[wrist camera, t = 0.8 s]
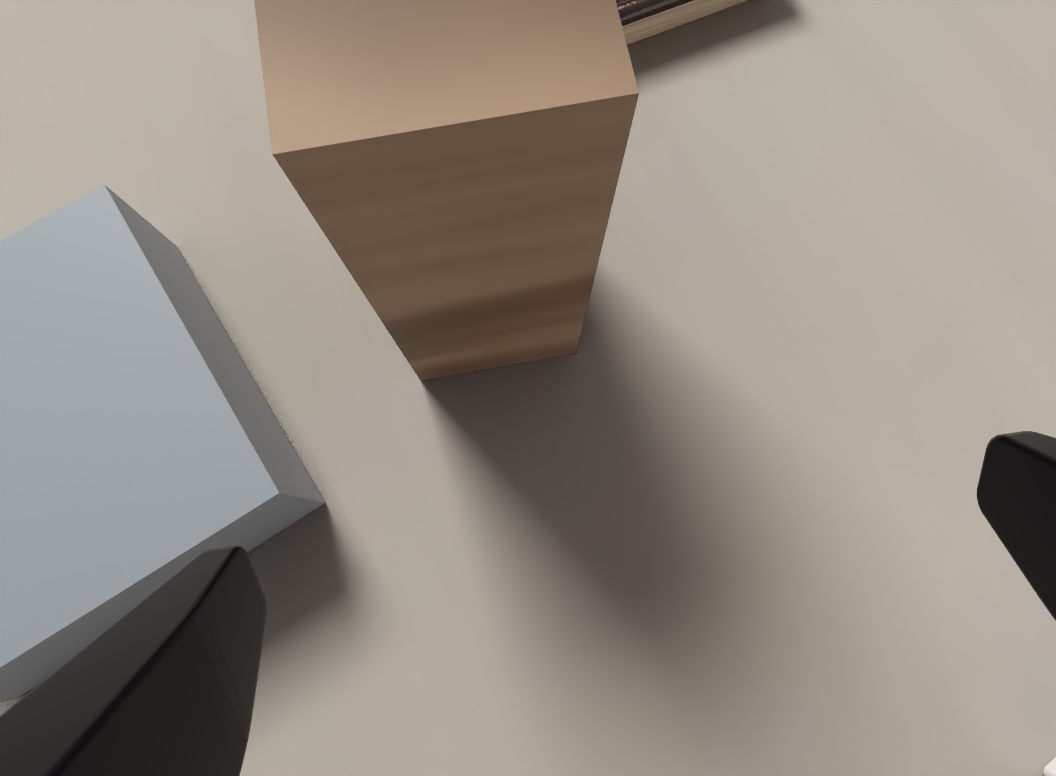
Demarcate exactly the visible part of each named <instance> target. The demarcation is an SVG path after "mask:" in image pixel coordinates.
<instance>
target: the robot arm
mask: <svg viewBox="0 0 1056 776" xmlns="http://www.w3.org/2000/svg"><path fill="white" fill-rule="evenodd" d="M977 500H978V504H979V507H980V509H981V511H982V513H983V515H984V516H985V518H986V519H987V521H988V522H989V524H990V525H991V527H992V528H993V529H994V531H995V532H996V534H997V535H998V537H999V538H1000V540H1001V541H1002V543H1003V544H1004V546H1005V547H1006V549H1007V550H1008V552H1009V553H1010V555H1011V556H1012V558H1013V559H1014V561H1015V562H1016V564H1017V565H1018V567H1019V568H1020V570H1021V571H1022V573H1023V574H1024V576H1025V577H1026V579H1027V580H1028V582H1029V583H1030V584H1031V586H1032V587H1033V589H1034V590H1035V592H1036V593H1037V595H1038V596H1039V598H1040V599H1041V601H1042V602H1043V604H1044V605H1045V606H1046V608H1047V609H1048V611H1049V612H1050V613H1051V615H1052V616H1053V618H1054V619H1055V620H1056V438H1054V437H1050V436H1047V435H1043V434H1040V433H1036V432H1032V431H1022V432H1015V433H1008V434H1002V435H997V436H995V437H993V438H992V439H991V440H990V442H989V443H988V445H987V448H986V452H985V456H984V461H983V465H982V470H981V474H980V478H979V483H978V487H977ZM266 613H267V609H266V600H265V596H264V593H263V591H262V588H261V585H260V583H259V580H258V577H257V575H256V572H255V569H254V567H253V564H252V561H251V559H250V556H249V554H248V552H247V551H246V549H245V548H244V547H242V546H240V545H233V546H226V547H219V548H212V549H208V550H205V551H204V552H202V553H201V554H200V555H199V556H197V557H196V558H195V559H194V560H192V561H191V562H190V563H189V564H187V565H186V566H185V567H184V568H182V569H181V570H180V571H179V572H178V573H176V574H175V575H174V576H173V577H171V578H170V579H169V580H168V581H166V582H165V583H164V584H163V585H162V586H160V587H159V588H158V589H157V590H155V591H154V592H153V593H152V594H150V595H149V596H148V597H147V598H146V599H144V600H143V601H142V602H141V603H139V604H138V605H137V606H136V607H134V608H133V609H132V610H131V611H129V612H128V613H127V614H126V615H125V616H123V617H122V618H121V619H120V620H118V621H117V622H116V623H115V624H113V625H112V626H111V627H110V628H108V629H107V630H106V631H105V632H104V633H102V634H101V635H100V636H99V637H97V638H96V639H95V640H94V641H92V642H91V643H90V644H89V645H87V646H86V647H85V648H84V649H83V650H81V651H80V652H79V653H78V654H76V655H75V656H74V657H73V658H71V659H70V660H69V661H68V662H67V663H65V664H64V665H63V666H62V667H60V668H59V669H58V670H57V671H55V672H54V673H53V674H52V675H50V676H49V677H48V678H47V679H46V680H44V681H43V682H42V683H41V684H39V685H38V686H37V687H36V688H34V689H33V690H32V691H31V692H29V693H28V694H27V695H26V696H25V697H23V698H22V699H21V700H20V701H18V702H17V703H16V704H15V705H13V706H12V707H11V708H10V709H8V710H7V711H6V712H5V713H4V714H2V715H1V716H0V776H239V775H240V771H241V768H242V764H243V760H244V755H245V751H246V747H247V742H248V737H249V731H250V726H251V720H252V713H253V706H254V699H255V692H256V685H257V678H258V671H259V664H260V657H261V651H262V644H263V637H264V630H265V623H266Z"/></svg>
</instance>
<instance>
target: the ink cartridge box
mask: <svg viewBox="0 0 1056 776" xmlns="http://www.w3.org/2000/svg"><path fill="white" fill-rule="evenodd" d="M1043 774H1044V776H1056V757H1055V758H1054V759H1053V760H1052V761H1051V762H1050V763H1049V764H1048V765H1047V766H1045V768H1044V771H1043Z"/></svg>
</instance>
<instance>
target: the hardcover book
mask: <svg viewBox="0 0 1056 776" xmlns="http://www.w3.org/2000/svg"><path fill="white" fill-rule="evenodd" d="M745 1H748V0H616V4H617V8H618V12H619V16H620V20H621V24H622V28H623V32H624V36H625V40H626V44H627V45H628V44H631V43H634V42H636V41H639V40H642V39H645V38H647V37H650V36H653V35H655V34H658V33H661V32H664V31H666V30H669V29H672V28H675V27H677V26H680V25H683V24H685V23H688V22H691V21H694V20H696V19H699V18H702V17H704V16H707V15H710V14H713V13H715V12H718V11H721V10H723V9H726V8H729V7H732V6H734V5H737V4H740V3H742V2H745Z"/></svg>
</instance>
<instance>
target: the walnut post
mask: <svg viewBox="0 0 1056 776" xmlns="http://www.w3.org/2000/svg"><path fill="white" fill-rule="evenodd" d="M255 9H256V18H257V26H258V35H259V43H260V52H261V60H262V69H263V77H264V86H265V95H266V103H267V112H268V120H269V129H270V137H271V146H272V154H273V156H274V157H275V159H276V160H277V162H278V164H279V165H280V167H281V168H282V170H283V171H284V173H285V174H286V176H287V177H288V179H289V180H290V182H291V183H292V185H293V186H294V188H295V189H296V191H297V193H298V194H299V196H300V197H301V199H302V200H303V202H304V203H305V205H306V206H307V208H308V209H309V211H310V212H311V214H312V215H313V217H314V218H315V220H316V222H317V223H318V225H319V226H320V228H321V229H322V231H323V232H324V234H325V235H326V237H327V238H328V240H329V241H330V243H331V244H332V246H333V248H334V249H335V251H336V252H337V254H338V255H339V257H340V258H341V260H342V261H343V263H344V264H345V266H346V267H347V269H348V270H349V272H350V273H351V275H352V277H353V278H354V280H355V281H356V283H357V284H358V286H359V287H360V289H361V290H362V292H363V293H364V295H365V296H366V298H367V299H368V301H369V302H370V304H371V306H372V307H373V309H374V310H375V312H376V313H377V315H378V316H379V318H380V319H381V321H382V322H383V324H384V325H385V327H386V328H387V330H388V332H389V333H390V335H391V336H392V338H393V339H394V341H395V342H396V344H397V345H398V347H399V348H400V350H401V351H402V353H403V354H404V356H405V357H406V359H407V361H408V362H409V364H410V365H411V367H412V368H413V370H414V371H415V373H416V374H417V376H418V377H419V379H420V380H421V381H424V380H430V379H435V378H441V377H447V376H452V375H458V374H463V373H469V372H474V371H480V370H485V369H491V368H496V367H502V366H507V365H513V364H518V363H524V362H529V361H535V360H540V359H546V358H551V357H557V356H562V355H568V354H573V353H576V352H577V347H578V343H579V339H580V335H581V331H582V327H583V323H584V318H585V314H586V310H587V306H588V302H589V298H590V294H591V290H592V285H593V281H594V277H595V273H596V269H597V265H598V261H599V256H600V252H601V248H602V244H603V240H604V236H605V232H606V228H607V223H608V219H609V215H610V211H611V207H612V203H613V199H614V194H615V190H616V186H617V182H618V178H619V174H620V170H621V165H622V161H623V157H624V153H625V149H626V145H627V141H628V137H629V132H630V128H631V124H632V120H633V116H634V112H635V108H636V103H637V99H638V95H639V91H638V87H637V83H636V79H635V75H634V71H633V67H632V63H631V59H630V56H629V52H628V48H627V44H626V40H625V36H624V32H623V28H622V24H621V20H620V16H619V12H618V8H617V4H616V0H255Z"/></svg>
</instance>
